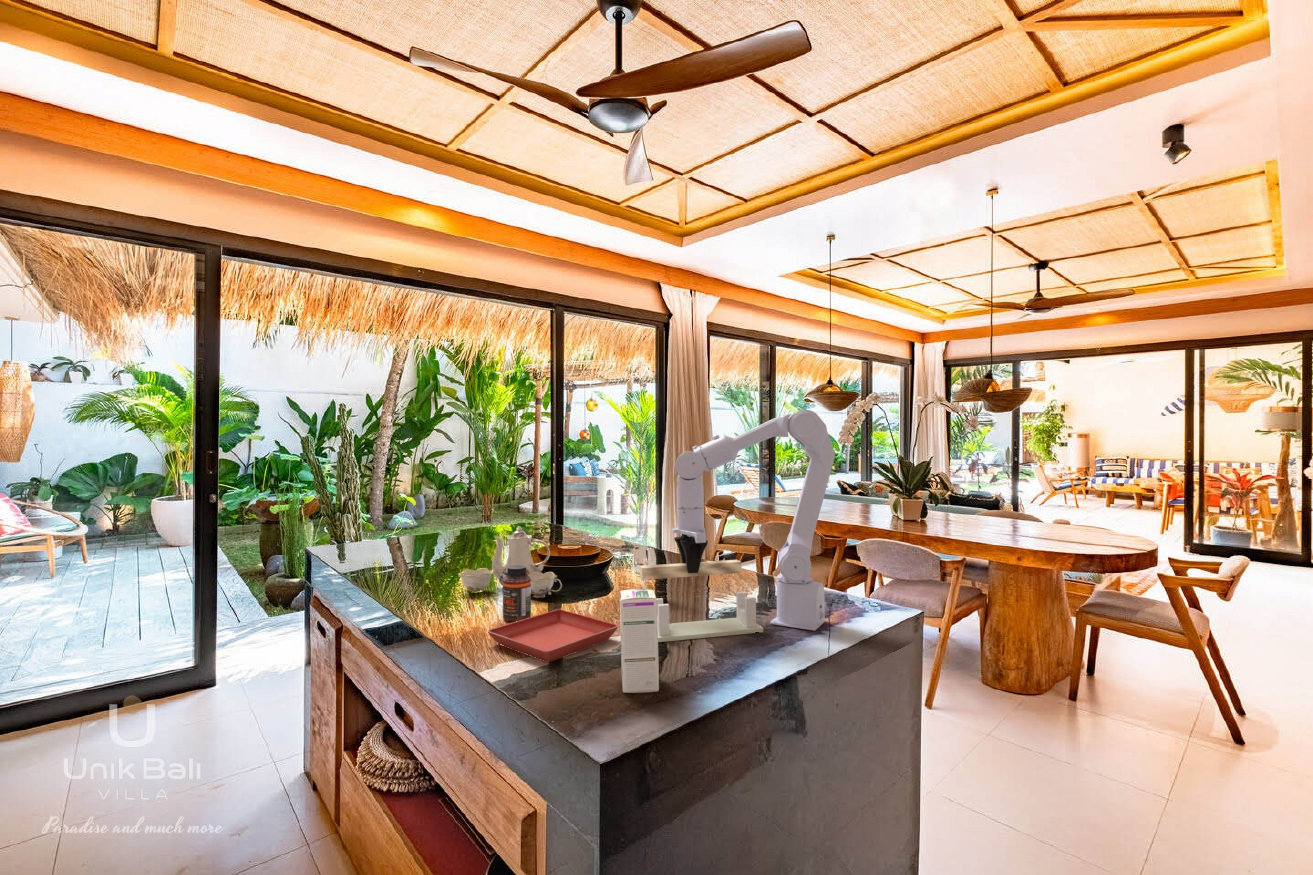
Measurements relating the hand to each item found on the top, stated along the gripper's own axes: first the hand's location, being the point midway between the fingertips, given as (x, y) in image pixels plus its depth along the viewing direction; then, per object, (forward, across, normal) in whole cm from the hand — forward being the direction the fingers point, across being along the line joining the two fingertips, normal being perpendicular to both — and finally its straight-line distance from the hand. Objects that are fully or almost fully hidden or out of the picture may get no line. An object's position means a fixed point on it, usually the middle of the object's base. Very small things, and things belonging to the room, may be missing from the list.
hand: (690, 571), depth 131 cm
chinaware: (+10, -36, -36) cm, 52 cm away
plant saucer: (+11, +7, -30) cm, 32 cm away
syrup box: (+10, +31, -18) cm, 38 cm away
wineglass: (+10, -20, -6) cm, 23 cm away
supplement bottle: (+10, -11, -36) cm, 39 cm away
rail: (+1, 0, 0) cm, 1 cm away
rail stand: (+10, +8, 0) cm, 13 cm away
